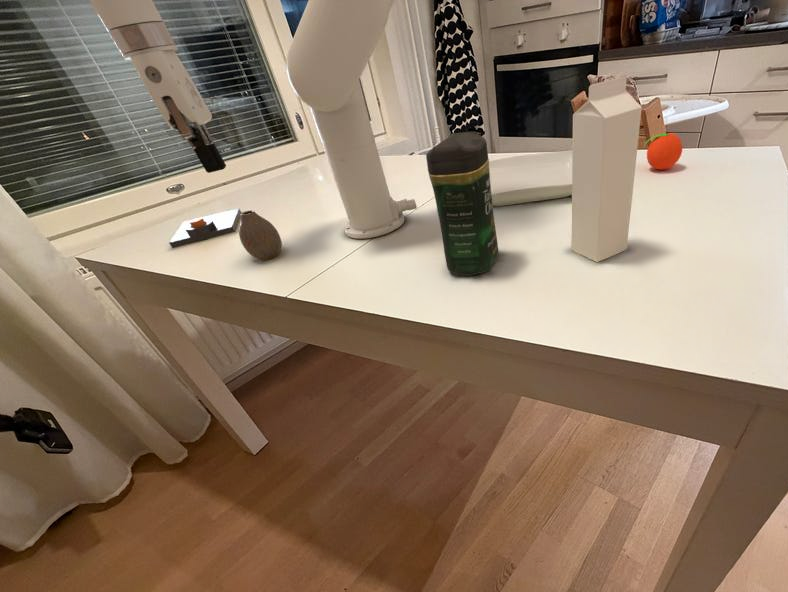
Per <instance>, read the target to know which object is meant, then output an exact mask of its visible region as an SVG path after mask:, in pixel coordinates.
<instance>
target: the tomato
mask: <svg viewBox="0 0 788 592" xmlns="http://www.w3.org/2000/svg"><path fill="white" fill-rule="evenodd" d="M651 140H652V141H651ZM650 141H651V142H650ZM648 142H650V143H649V145H648V147H647V149H646V159H647V163H648V164H649V166H650V167H651V168H653V169H654V170H660V171H664V170H668V169H669V168H672V167H673V166H675V165H676V163H678V161H679V159H680V158H681V156H682V153H683V143H682V140H681V139H680V137H679V136H678V135H676V134H674V133H670V132H666V133H659V134H655V135H654V136H652V137H651V138H649V139H647V141H646V142H645V143H644V145H643V147H645V145H646V144H648Z"/></svg>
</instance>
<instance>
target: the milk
mask: <svg viewBox="0 0 788 592" xmlns="http://www.w3.org/2000/svg"><path fill="white" fill-rule="evenodd" d="M627 79H628V78H627V76H626V75H623V76H619V77H616V78H612V79H608V80H603V81H601V82H597V83H593V84H590V85H589V87H588V98H587V99H588V100H587V101H586V102H585V103H584V104H582V105H581V106H580V108H578V109H577V110H576V111H575V112H574V113H573V114H572V150H573V151H572V195H571V246H570V247H571V251H572V252H575V253H576V254H578V255H581V256H583V257H585V258H587V259H590V261H593V262H595V263H599V262H602V261H604V260H607V259H608V258H610V257H613V256H615V255H617V254H620V253H622V252H624V251H627V249H628V241H629V232H630V231H629V230H630V222H631V212H632V203H633V194H634V185H635V184H634V183H635V174H636V165H637V158H638V157H637V156H638V147H639V146H638V145H639V136H640V129H641V128H640V127H641V118H642V109H643V107H642V105H640V104H639V103H638V101H636V99H635V98H634V97H633V96H632V95H631V94H630V93H629V92H628V90H627Z"/></svg>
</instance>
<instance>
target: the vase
mask: <svg viewBox="0 0 788 592" xmlns="http://www.w3.org/2000/svg"><path fill="white" fill-rule="evenodd" d="M241 213H242V214H241V217H240V223H239V228H238V235H239V240H240V243H241V245H242V246H243V248H244V249H245V251H246V252H247V253H248V254H249V255H250V256H251V257H253V258H255V259H257V260H258V261H259V260H260V261H267V260H271V259H274V258H276V257H277V256H279V255H280V253H281V250H282V248H283V247H282V246H283V245H282V239H281V235H280V233H279V232H278V231H279V230H277V228H276V227H275V226H274V224H273V223H272V222H271V221H269V220H268V219H266V218H264V217H263V216H261V215H260V214H258V213H256V211H254V210H246V211H243V212H241Z"/></svg>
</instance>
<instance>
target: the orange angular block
mask: <svg viewBox="0 0 788 592" xmlns="http://www.w3.org/2000/svg"><path fill="white" fill-rule="evenodd" d="M188 221H189V220H188ZM189 223H190V225H191V226H192V228H196V227H200V226H203V225H205V224H206V223H205V221H204V219H203V218H201V217H196V218H192V219H191V221H189Z"/></svg>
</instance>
